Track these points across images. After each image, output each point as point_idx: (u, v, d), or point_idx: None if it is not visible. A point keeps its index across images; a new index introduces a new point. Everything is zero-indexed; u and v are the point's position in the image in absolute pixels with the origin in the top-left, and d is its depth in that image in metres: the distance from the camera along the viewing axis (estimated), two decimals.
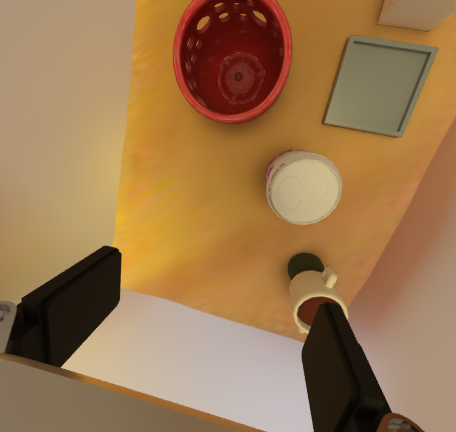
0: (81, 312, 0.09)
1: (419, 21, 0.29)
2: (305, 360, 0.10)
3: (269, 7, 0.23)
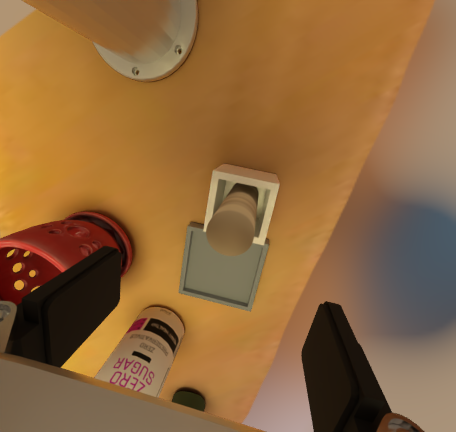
0: (81, 312, 0.09)
1: None
2: (305, 360, 0.10)
3: None
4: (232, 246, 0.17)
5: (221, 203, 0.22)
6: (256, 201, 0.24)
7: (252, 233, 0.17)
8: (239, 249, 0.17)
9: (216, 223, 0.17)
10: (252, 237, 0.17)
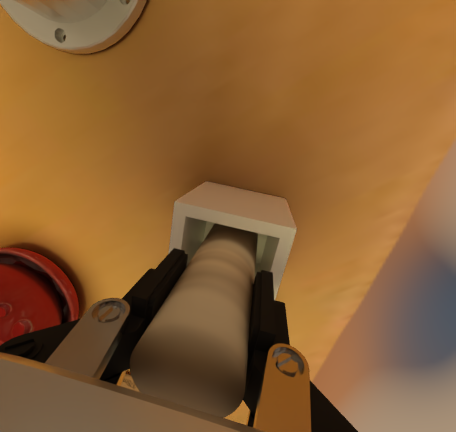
0: None
1: None
2: None
3: None
4: (192, 403, 0.07)
5: (188, 264, 0.12)
6: (254, 252, 0.14)
7: (241, 383, 0.07)
8: (210, 411, 0.07)
9: (153, 353, 0.07)
10: (241, 391, 0.07)
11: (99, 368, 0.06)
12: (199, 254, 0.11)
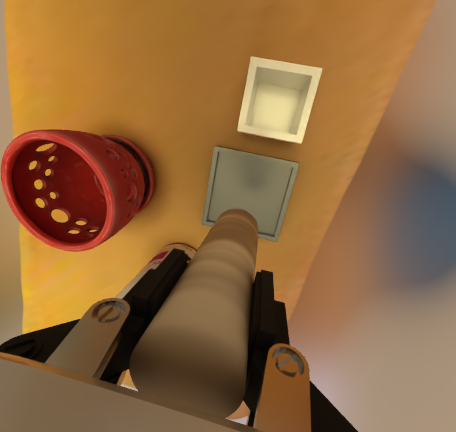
0: None
1: (276, 139, 0.28)
2: None
3: (82, 157, 0.22)
4: (192, 404, 0.07)
5: None
6: (254, 252, 0.14)
7: (241, 384, 0.07)
8: (210, 412, 0.07)
9: (152, 354, 0.07)
10: (241, 392, 0.07)
11: (99, 368, 0.06)
12: (199, 254, 0.11)
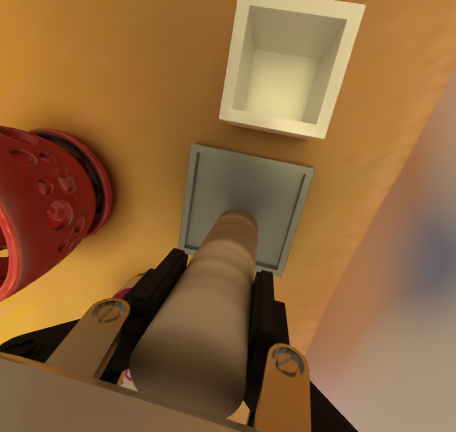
0: None
1: (280, 133, 0.19)
2: None
3: None
4: (192, 404, 0.07)
5: None
6: (254, 252, 0.14)
7: (241, 384, 0.07)
8: (210, 412, 0.07)
9: (152, 354, 0.07)
10: (241, 392, 0.07)
11: (99, 368, 0.06)
12: (199, 255, 0.11)
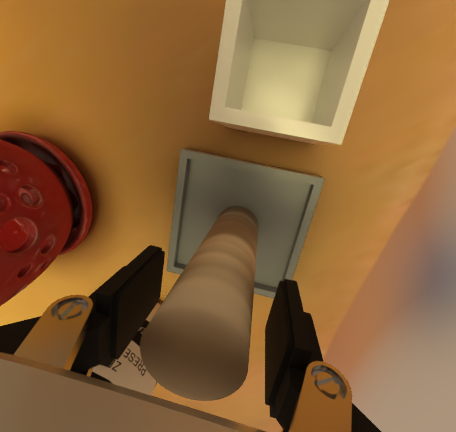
0: (136, 306, 0.09)
1: (284, 137, 0.16)
2: (267, 332, 0.11)
3: None
4: (198, 382, 0.08)
5: None
6: (255, 247, 0.14)
7: (244, 362, 0.07)
8: (215, 390, 0.08)
9: (162, 335, 0.07)
10: (244, 370, 0.07)
11: (68, 362, 0.06)
12: (202, 247, 0.12)
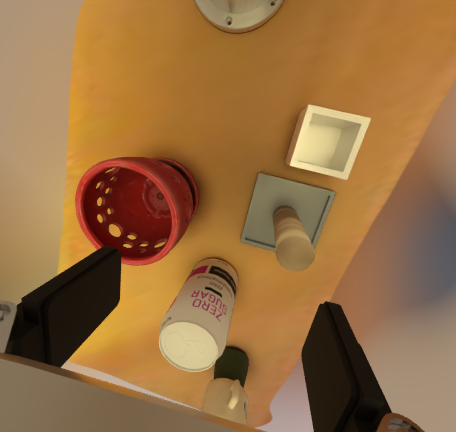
0: (81, 312, 0.09)
1: None
2: (305, 360, 0.10)
3: (155, 184, 0.25)
4: (295, 263, 0.23)
5: (278, 226, 0.27)
6: None
7: (313, 254, 0.22)
8: (301, 266, 0.23)
9: (286, 245, 0.22)
10: (313, 257, 0.22)
11: None
12: (283, 222, 0.27)
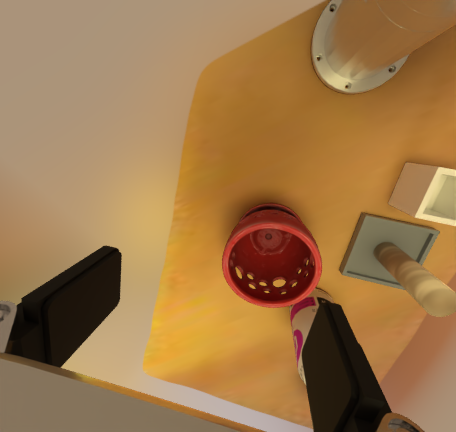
0: (81, 312, 0.09)
1: None
2: (305, 360, 0.10)
3: (304, 242, 0.28)
4: (441, 310, 0.26)
5: (404, 271, 0.30)
6: None
7: None
8: (446, 312, 0.26)
9: (434, 296, 0.26)
10: None
11: None
12: (409, 267, 0.30)
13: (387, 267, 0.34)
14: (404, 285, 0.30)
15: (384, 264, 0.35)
